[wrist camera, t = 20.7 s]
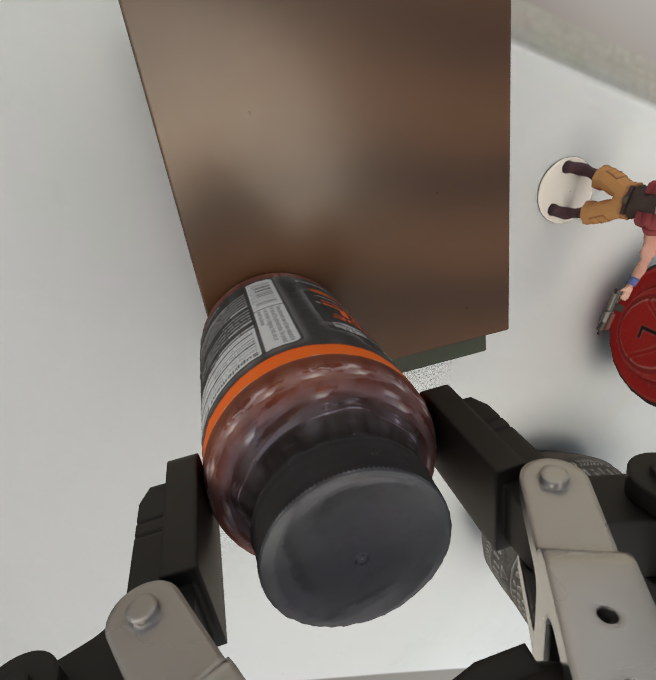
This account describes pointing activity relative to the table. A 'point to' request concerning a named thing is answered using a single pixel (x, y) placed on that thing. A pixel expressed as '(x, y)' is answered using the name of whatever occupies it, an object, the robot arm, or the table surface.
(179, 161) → the cabinet
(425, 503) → the supplement bottle
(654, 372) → the headphones
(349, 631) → the table surface
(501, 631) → the table surface
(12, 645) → the table surface
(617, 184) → the action figure
